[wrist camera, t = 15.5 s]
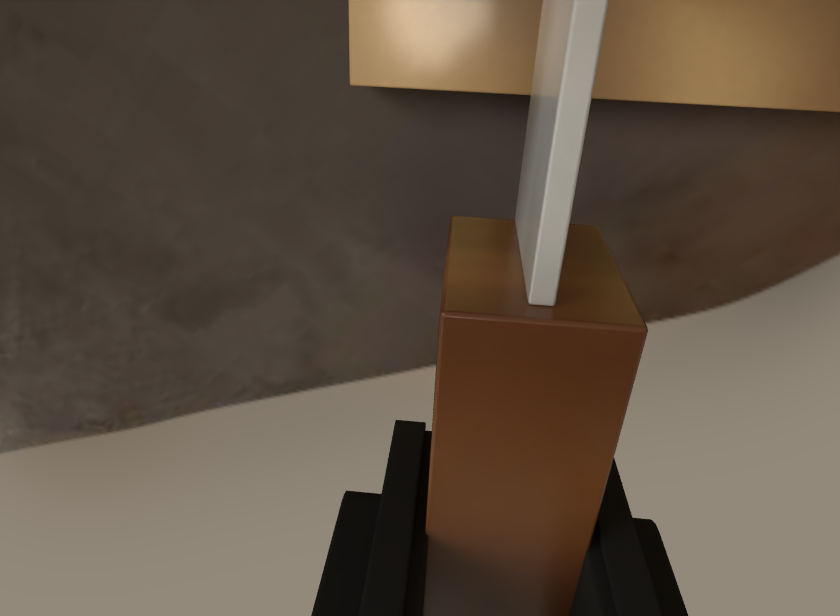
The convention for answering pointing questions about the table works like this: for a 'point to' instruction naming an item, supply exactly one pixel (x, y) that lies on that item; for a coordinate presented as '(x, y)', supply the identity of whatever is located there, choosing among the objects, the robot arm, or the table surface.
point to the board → (611, 49)
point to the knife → (529, 364)
